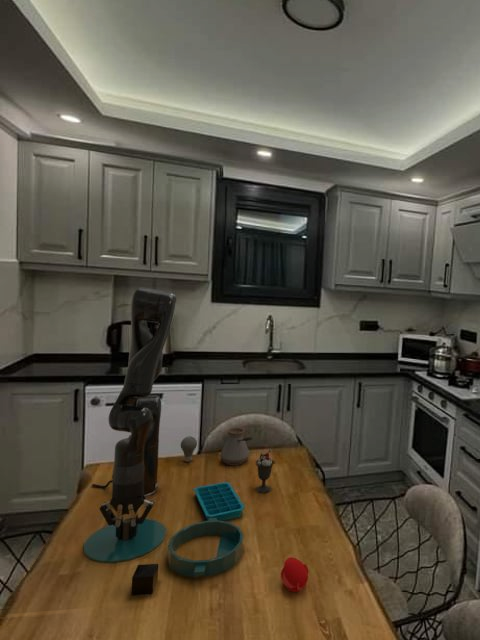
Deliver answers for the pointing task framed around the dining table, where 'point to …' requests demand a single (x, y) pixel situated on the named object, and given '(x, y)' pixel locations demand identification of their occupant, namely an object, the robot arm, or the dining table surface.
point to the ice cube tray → (219, 501)
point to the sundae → (264, 471)
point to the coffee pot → (235, 447)
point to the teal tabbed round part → (226, 551)
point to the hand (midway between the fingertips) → (126, 537)
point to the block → (144, 579)
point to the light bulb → (188, 447)
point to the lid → (124, 542)
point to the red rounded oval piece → (294, 574)
